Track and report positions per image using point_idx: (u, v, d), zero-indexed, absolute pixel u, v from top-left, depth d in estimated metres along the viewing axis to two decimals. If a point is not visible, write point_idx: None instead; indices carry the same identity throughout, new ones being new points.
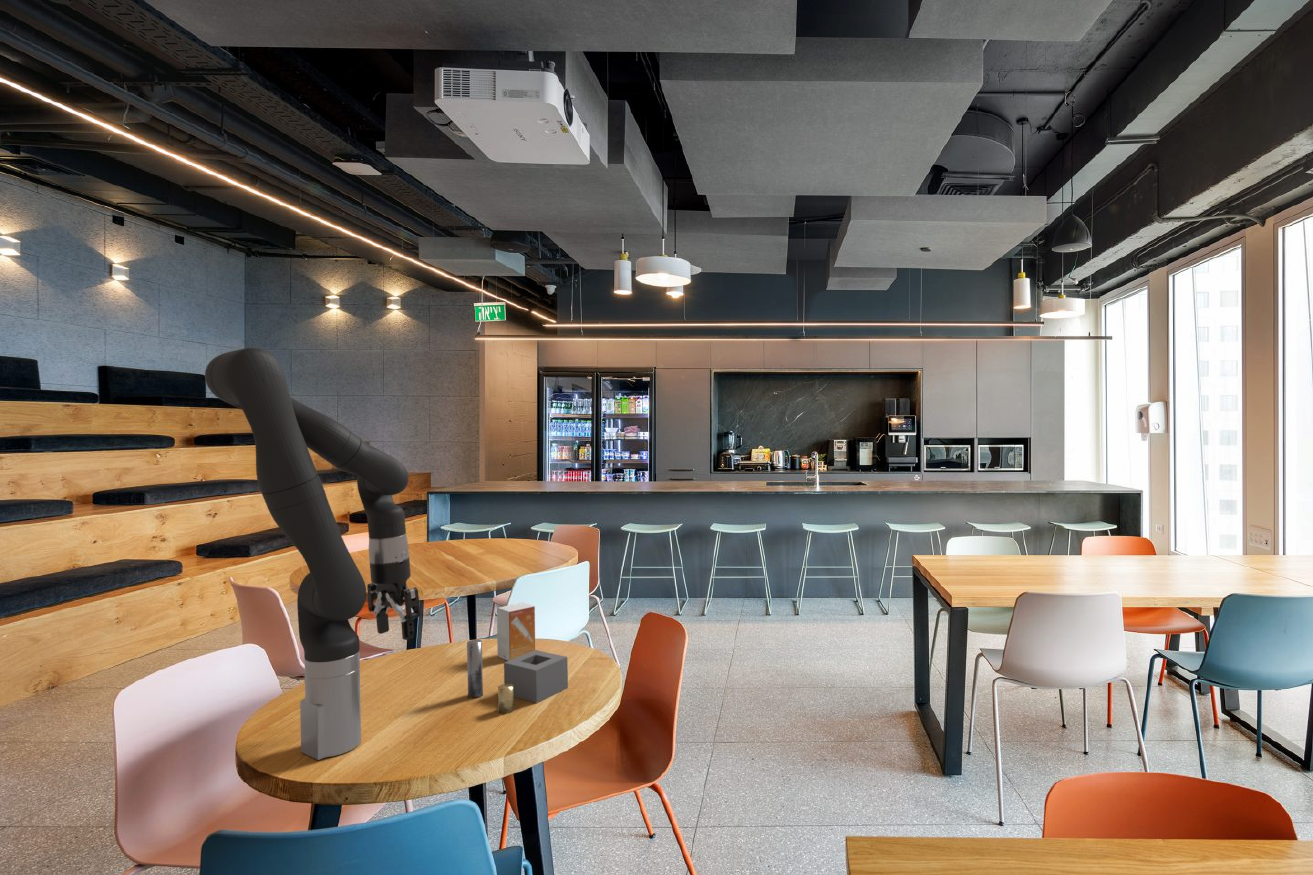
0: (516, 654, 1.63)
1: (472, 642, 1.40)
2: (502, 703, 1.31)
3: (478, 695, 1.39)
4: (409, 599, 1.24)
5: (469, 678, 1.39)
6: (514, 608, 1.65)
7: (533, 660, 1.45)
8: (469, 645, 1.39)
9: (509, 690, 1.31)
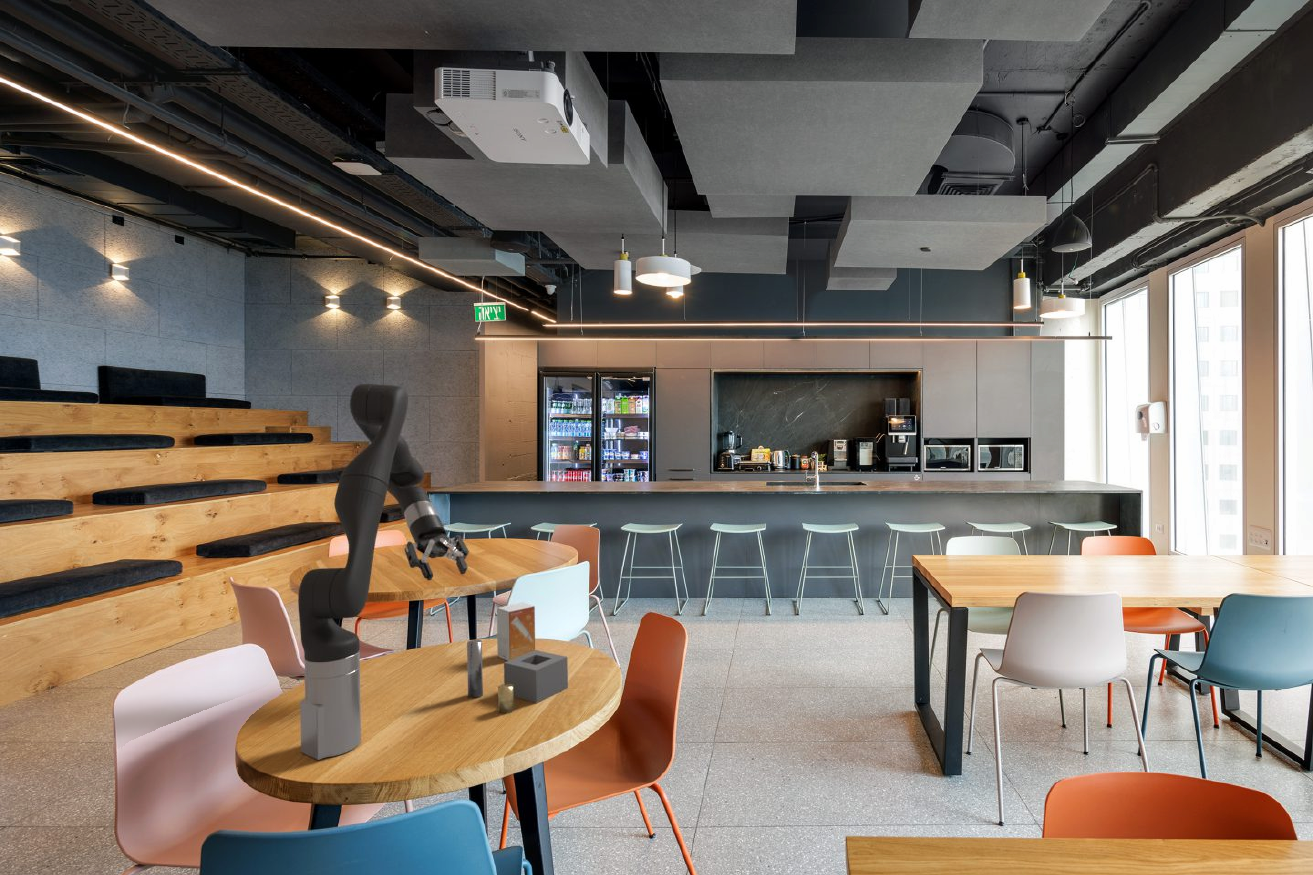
0: (516, 654, 1.63)
1: (472, 642, 1.40)
2: (502, 703, 1.31)
3: (478, 695, 1.39)
4: None
5: (469, 678, 1.39)
6: (514, 608, 1.65)
7: (533, 660, 1.45)
8: (469, 645, 1.39)
9: (509, 690, 1.31)
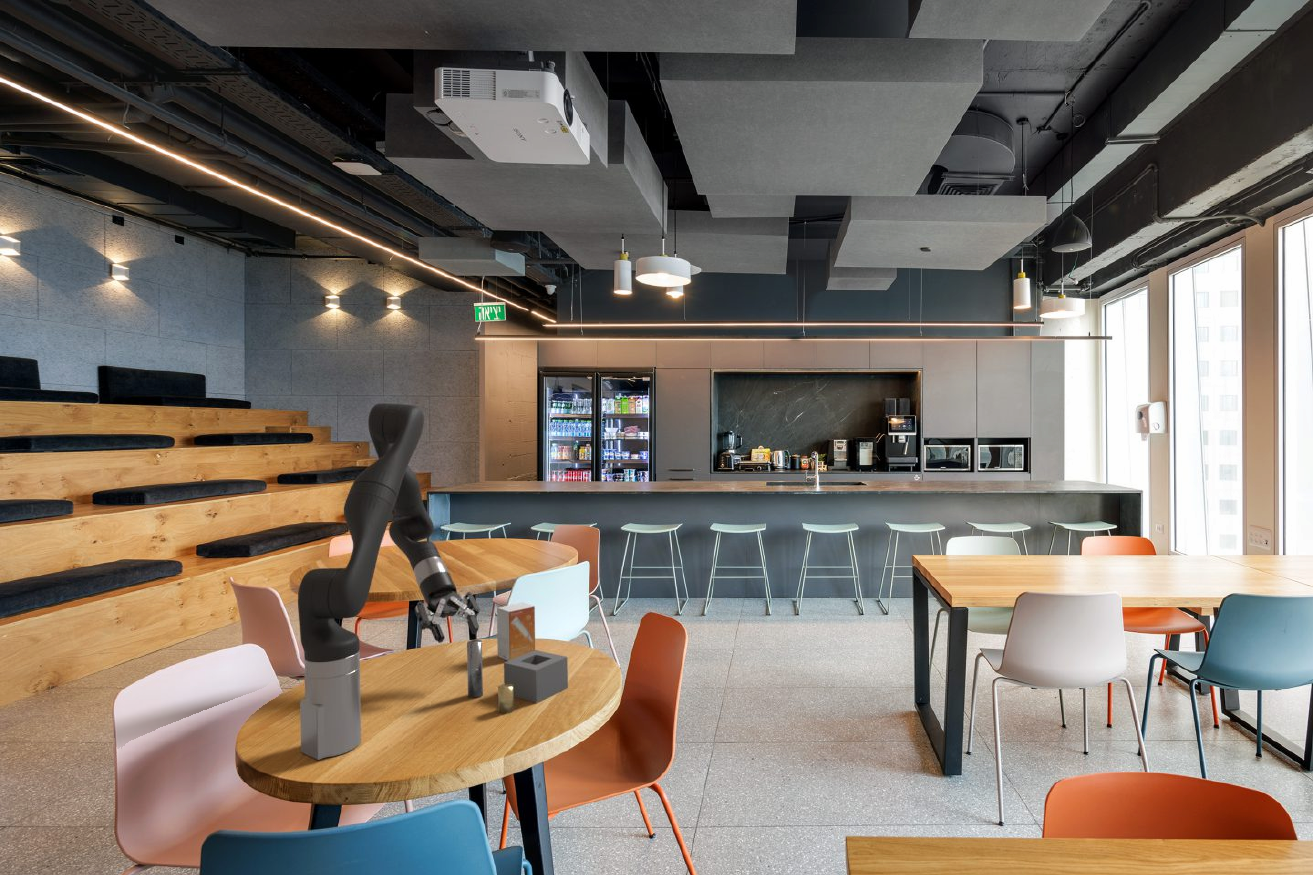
0: (516, 654, 1.63)
1: (472, 642, 1.40)
2: (502, 703, 1.31)
3: (478, 695, 1.39)
4: None
5: (469, 678, 1.39)
6: (514, 608, 1.65)
7: (533, 660, 1.45)
8: (469, 645, 1.39)
9: (509, 690, 1.31)
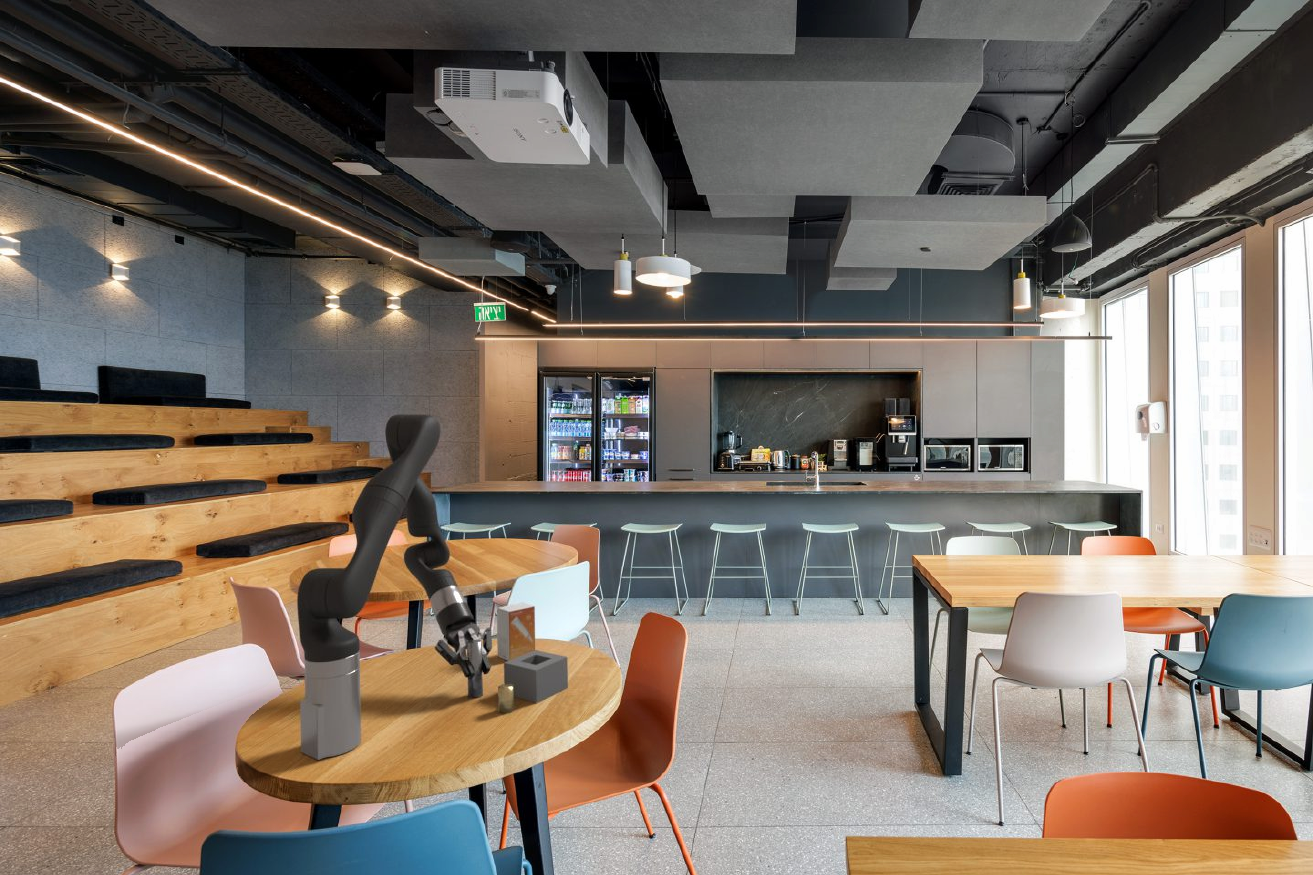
0: (516, 654, 1.63)
1: (472, 642, 1.40)
2: (502, 703, 1.31)
3: (478, 695, 1.39)
4: None
5: None
6: (514, 608, 1.65)
7: (533, 660, 1.45)
8: (469, 645, 1.39)
9: (509, 690, 1.31)
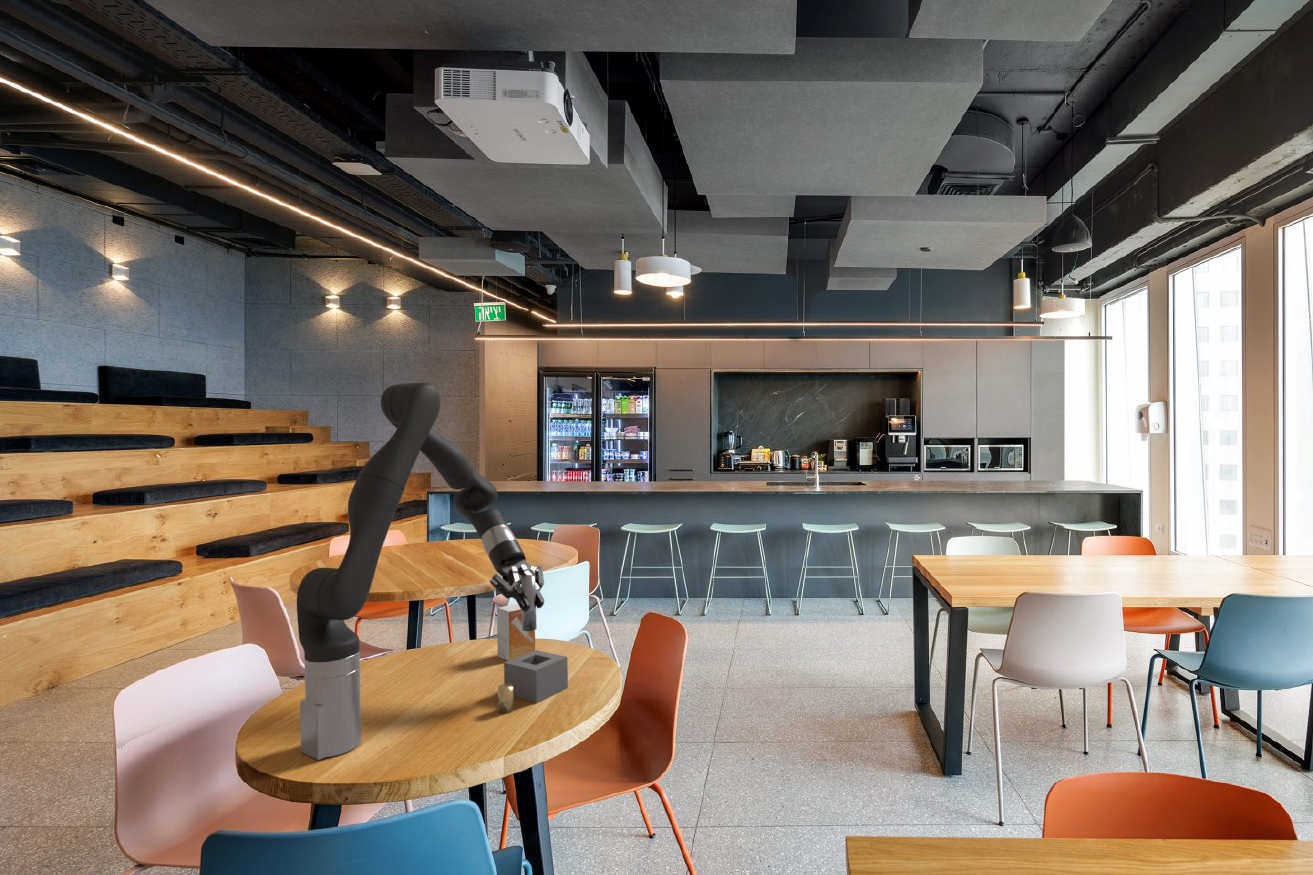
0: (516, 654, 1.63)
1: (526, 576, 1.42)
2: (502, 703, 1.31)
3: (532, 628, 1.42)
4: None
5: None
6: (514, 608, 1.65)
7: (533, 660, 1.45)
8: (524, 579, 1.41)
9: (509, 690, 1.31)
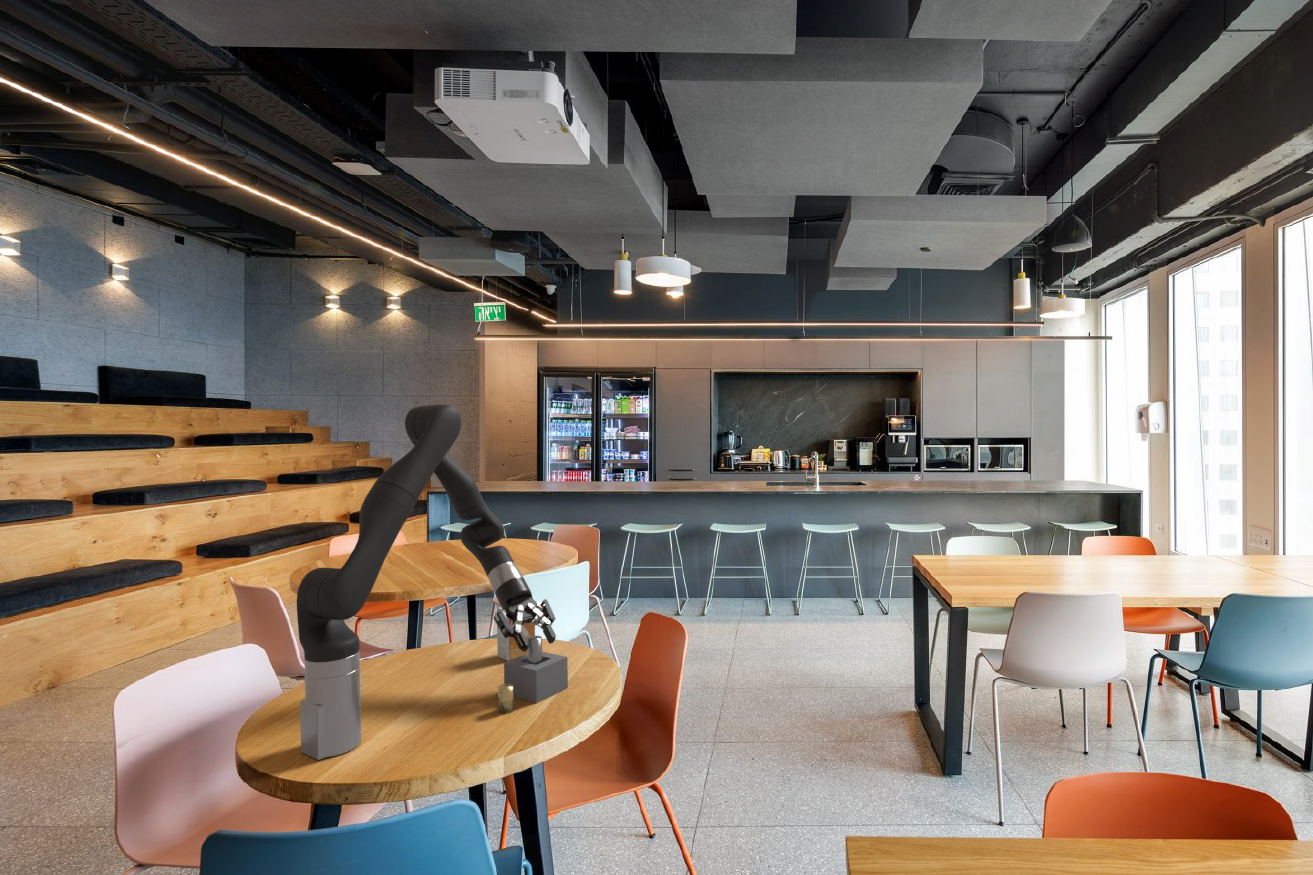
0: (516, 654, 1.63)
1: (532, 638, 1.42)
2: (502, 703, 1.31)
3: None
4: None
5: None
6: None
7: None
8: (530, 641, 1.41)
9: (509, 690, 1.31)
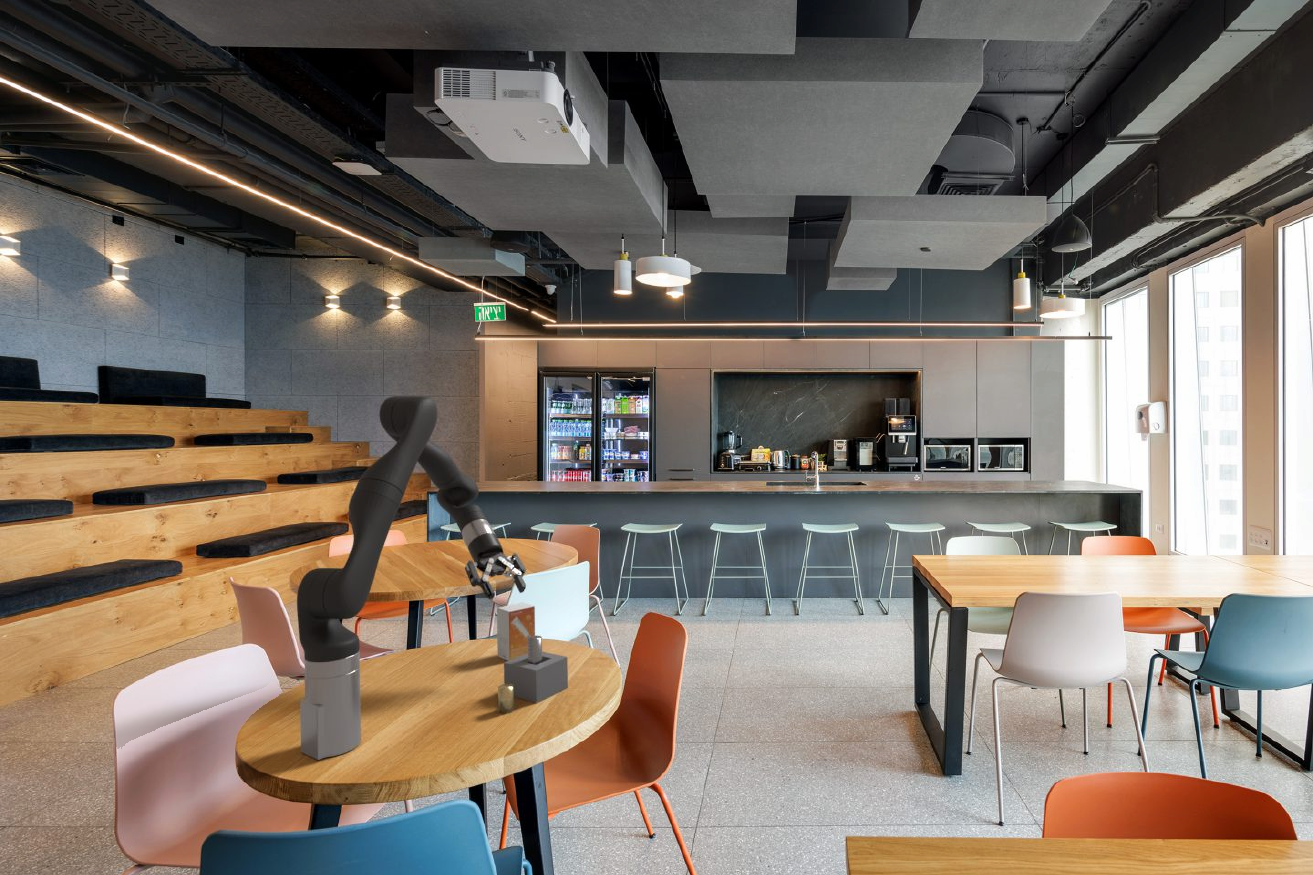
0: (516, 654, 1.63)
1: (532, 638, 1.42)
2: (502, 703, 1.31)
3: None
4: None
5: None
6: (514, 608, 1.65)
7: None
8: (530, 641, 1.41)
9: (509, 690, 1.31)
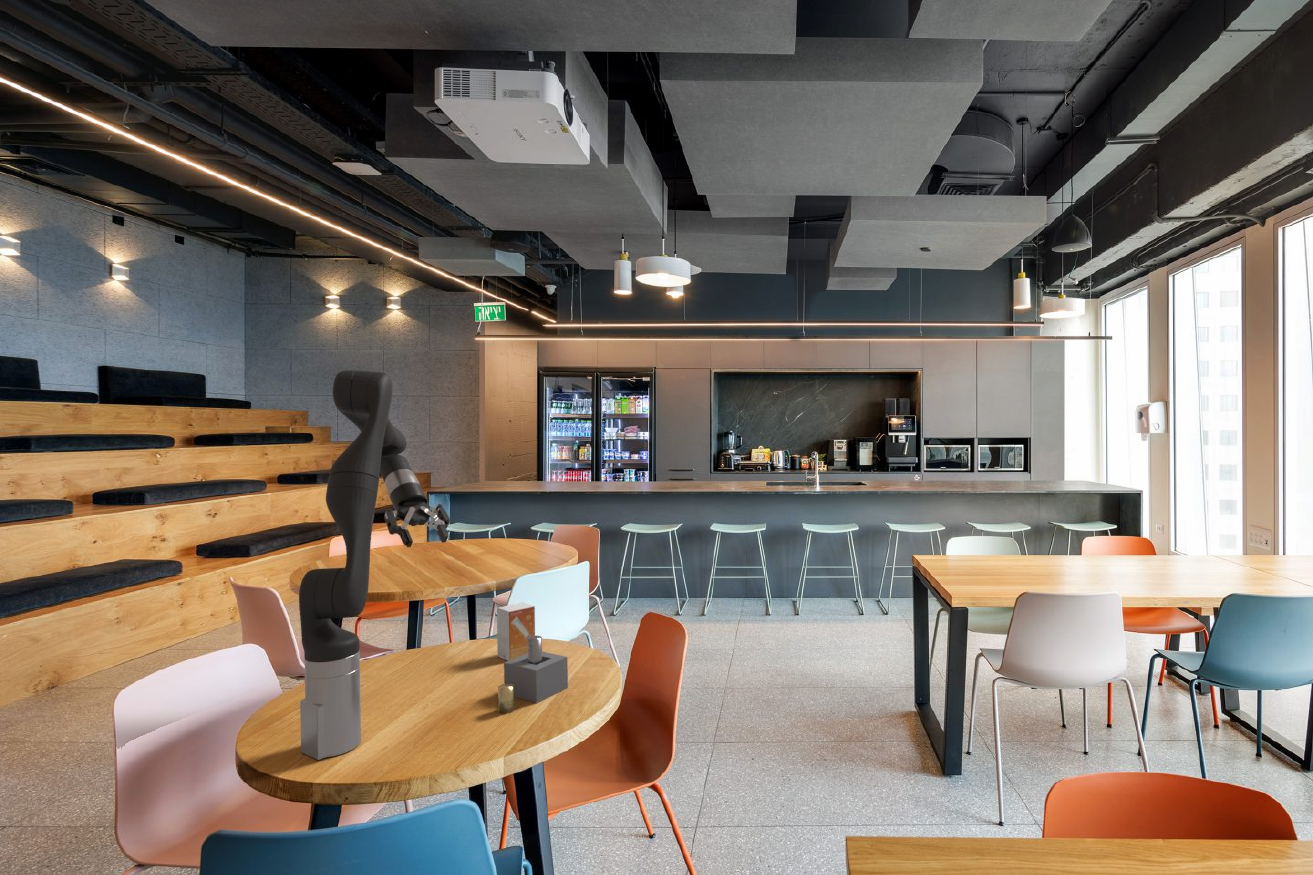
0: (516, 654, 1.63)
1: (532, 638, 1.42)
2: (502, 703, 1.31)
3: None
4: None
5: None
6: (514, 608, 1.65)
7: None
8: (530, 641, 1.41)
9: (509, 690, 1.31)
